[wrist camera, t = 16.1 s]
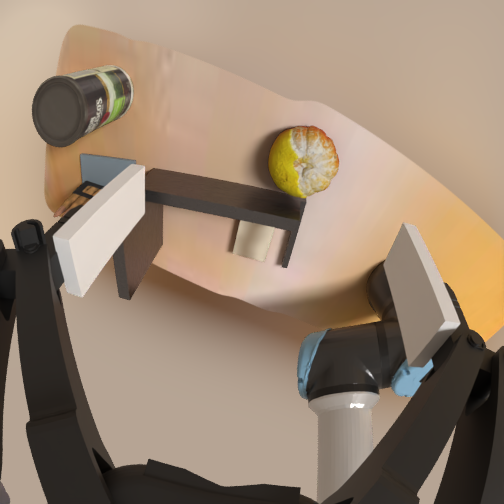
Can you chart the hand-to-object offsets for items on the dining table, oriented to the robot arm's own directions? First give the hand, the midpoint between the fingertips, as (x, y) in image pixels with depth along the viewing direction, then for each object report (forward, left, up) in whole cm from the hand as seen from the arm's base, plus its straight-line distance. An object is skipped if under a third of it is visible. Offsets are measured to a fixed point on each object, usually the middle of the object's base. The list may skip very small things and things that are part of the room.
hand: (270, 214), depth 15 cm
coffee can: (+30, +2, -35) cm, 46 cm away
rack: (+7, +24, -35) cm, 42 cm away
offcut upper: (+1, +24, -34) cm, 42 cm away
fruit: (-4, +8, -35) cm, 36 cm away
